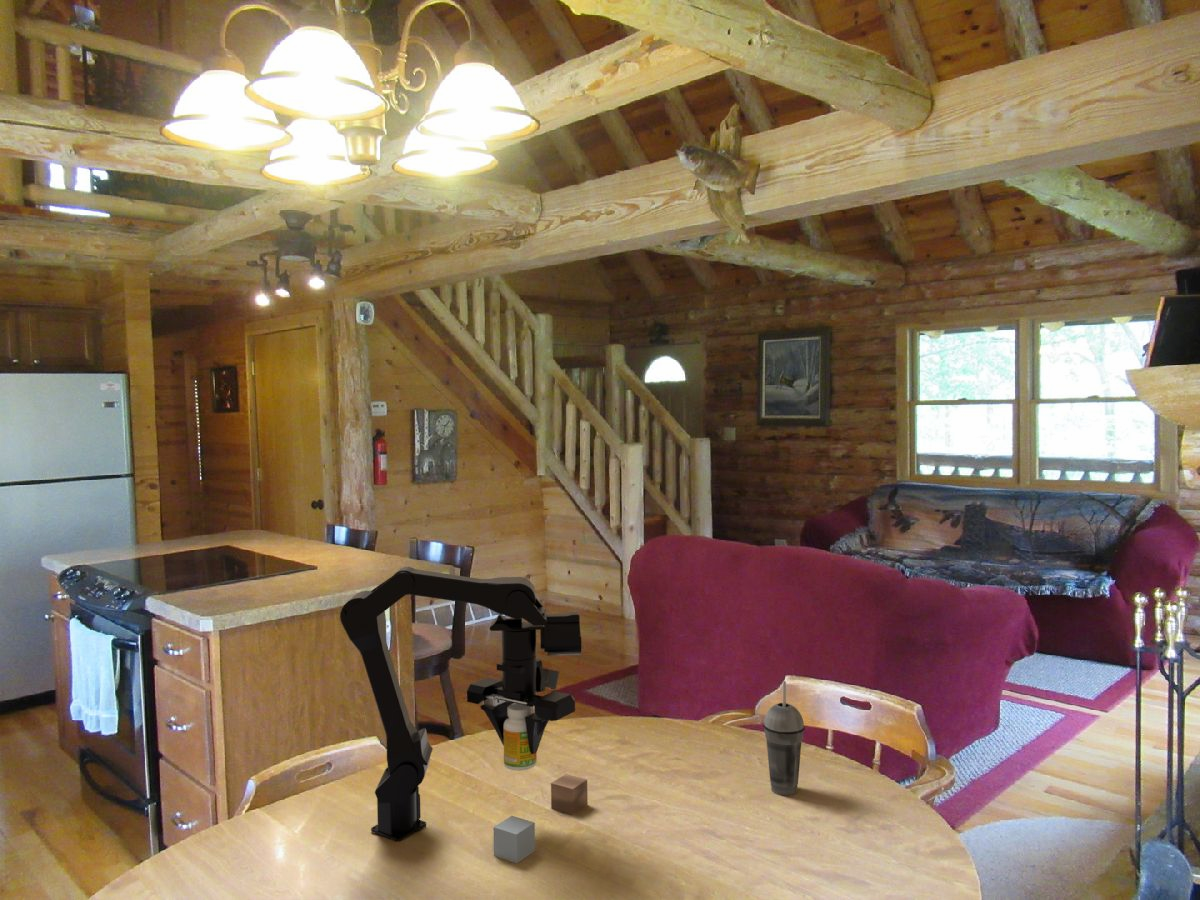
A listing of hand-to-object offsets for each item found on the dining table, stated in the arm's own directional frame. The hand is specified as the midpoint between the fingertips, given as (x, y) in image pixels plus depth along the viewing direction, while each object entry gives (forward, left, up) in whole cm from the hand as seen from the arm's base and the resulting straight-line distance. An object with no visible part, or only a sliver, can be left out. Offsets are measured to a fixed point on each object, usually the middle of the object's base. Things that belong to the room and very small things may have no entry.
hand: (520, 749), depth 141 cm
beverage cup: (+35, -32, -13) cm, 49 cm away
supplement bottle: (0, 0, -3) cm, 3 cm away
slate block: (-8, -5, -12) cm, 16 cm away
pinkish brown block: (+10, -3, -12) cm, 16 cm away
